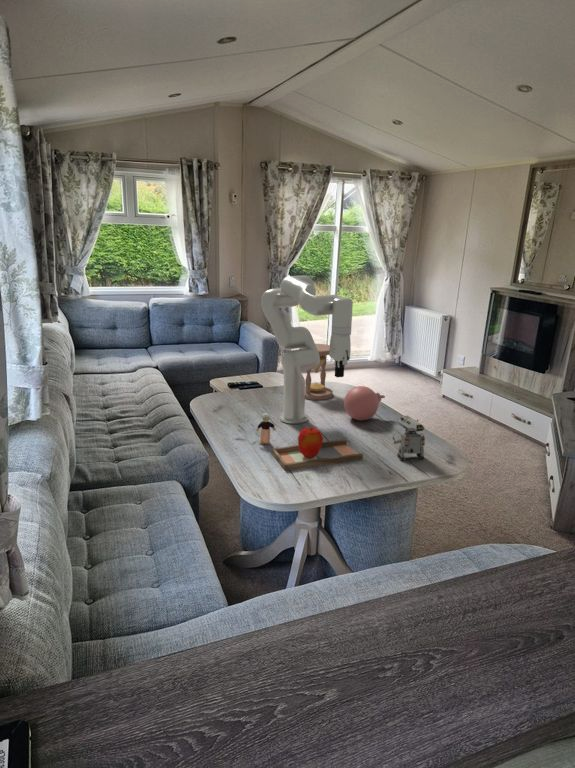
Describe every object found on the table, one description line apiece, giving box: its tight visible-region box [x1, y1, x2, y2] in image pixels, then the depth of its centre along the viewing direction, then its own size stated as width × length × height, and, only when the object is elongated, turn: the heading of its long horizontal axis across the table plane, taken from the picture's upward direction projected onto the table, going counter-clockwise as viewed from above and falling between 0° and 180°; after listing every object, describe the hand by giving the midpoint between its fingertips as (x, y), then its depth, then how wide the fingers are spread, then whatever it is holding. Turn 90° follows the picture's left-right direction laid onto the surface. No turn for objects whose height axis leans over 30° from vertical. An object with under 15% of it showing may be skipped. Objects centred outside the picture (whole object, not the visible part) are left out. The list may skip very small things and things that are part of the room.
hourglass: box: [298, 343, 334, 401], centre depth 269 cm, size 18×18×25 cm
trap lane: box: [271, 438, 364, 472], centre depth 200 cm, size 15×31×2 cm, turn 110°
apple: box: [297, 426, 324, 458], centre depth 198 cm, size 9×9×12 cm
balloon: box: [343, 385, 386, 421], centre depth 238 cm, size 15×20×15 cm
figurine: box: [392, 415, 426, 461], centre depth 200 cm, size 9×12×15 cm
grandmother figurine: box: [255, 412, 276, 445], centre depth 210 cm, size 8×4×13 cm, turn 105°
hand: (339, 376), depth 208 cm, fingers closed
